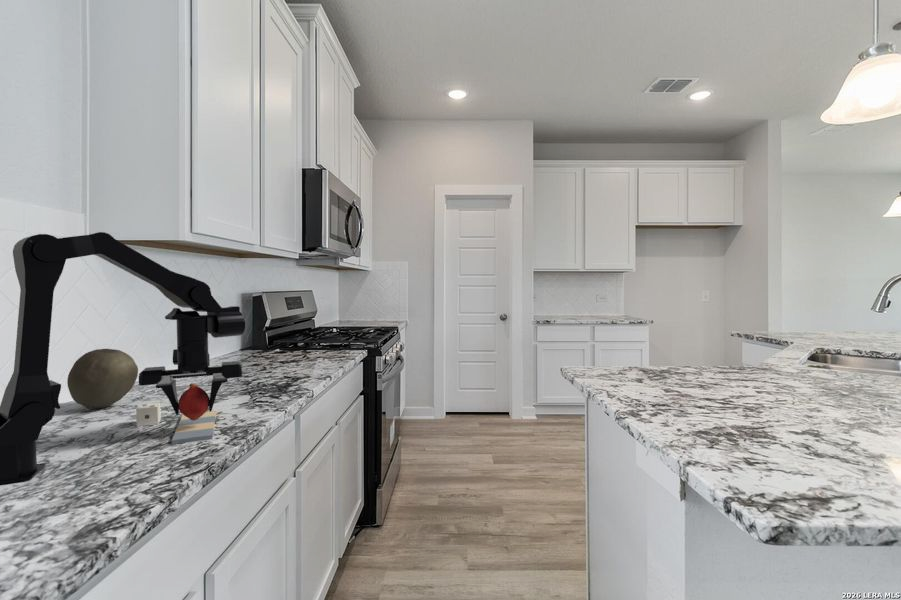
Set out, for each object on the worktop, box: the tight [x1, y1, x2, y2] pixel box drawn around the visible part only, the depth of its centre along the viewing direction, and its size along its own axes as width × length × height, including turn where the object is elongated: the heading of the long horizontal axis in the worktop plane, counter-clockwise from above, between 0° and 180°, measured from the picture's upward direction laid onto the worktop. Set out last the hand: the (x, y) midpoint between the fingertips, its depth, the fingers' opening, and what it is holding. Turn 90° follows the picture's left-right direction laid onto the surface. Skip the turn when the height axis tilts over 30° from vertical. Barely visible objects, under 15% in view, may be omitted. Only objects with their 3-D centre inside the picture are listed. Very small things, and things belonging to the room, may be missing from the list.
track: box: [171, 410, 217, 445], centre depth 99 cm, size 20×7×1 cm, turn 25°
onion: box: [178, 383, 210, 421], centre depth 97 cm, size 6×6×8 cm
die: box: [135, 402, 162, 427], centre depth 103 cm, size 4×4×4 cm
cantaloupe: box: [66, 348, 139, 410], centre depth 117 cm, size 14×14×15 cm
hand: (194, 412), depth 97 cm, fingers closed on onion, 6 cm apart
